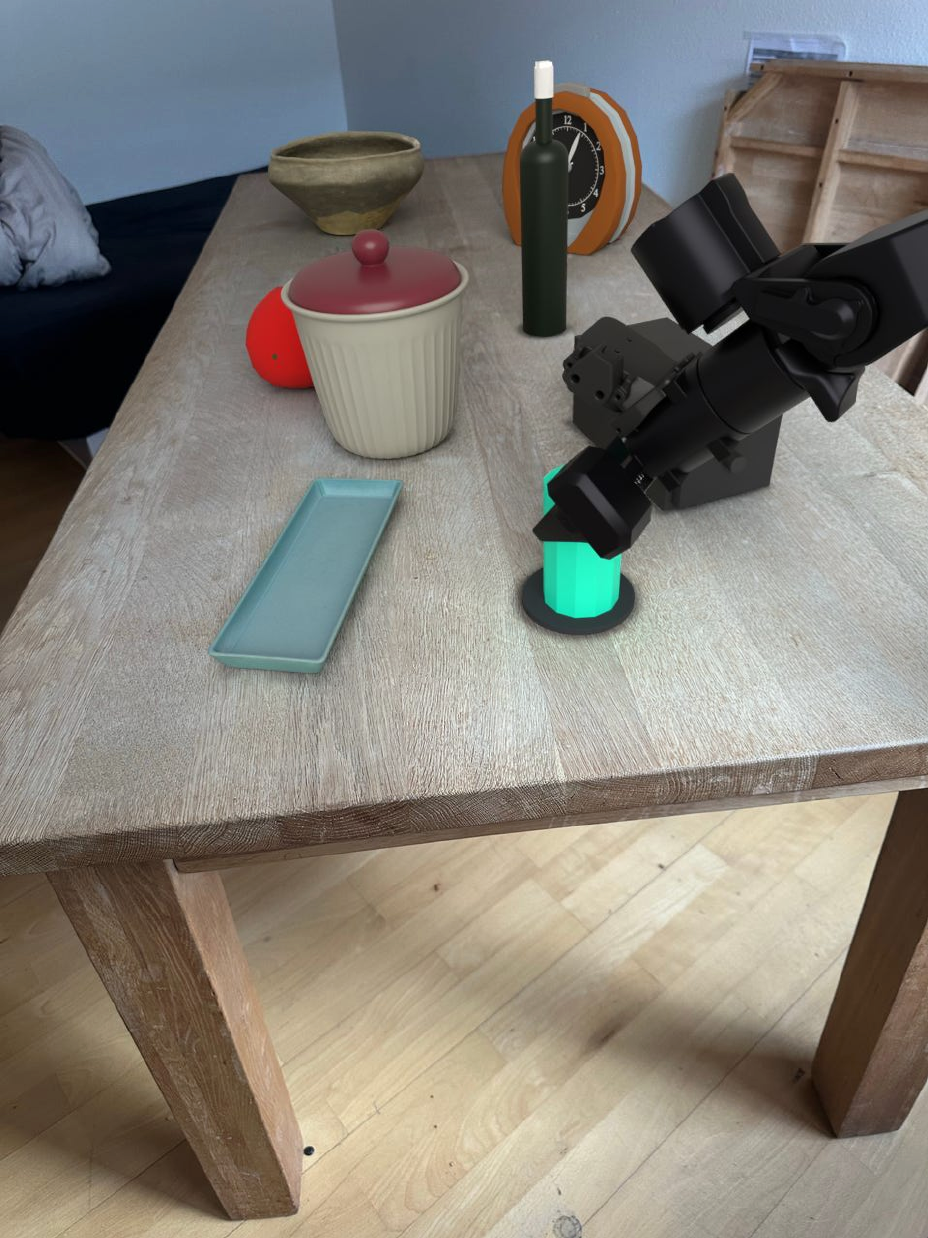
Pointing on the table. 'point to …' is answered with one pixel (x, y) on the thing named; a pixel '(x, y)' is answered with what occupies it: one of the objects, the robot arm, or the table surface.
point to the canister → (382, 343)
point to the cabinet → (598, 419)
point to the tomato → (277, 344)
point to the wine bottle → (544, 218)
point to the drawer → (733, 469)
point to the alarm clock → (583, 166)
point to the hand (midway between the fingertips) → (562, 506)
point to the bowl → (347, 177)
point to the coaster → (569, 625)
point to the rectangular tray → (308, 578)
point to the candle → (577, 574)
